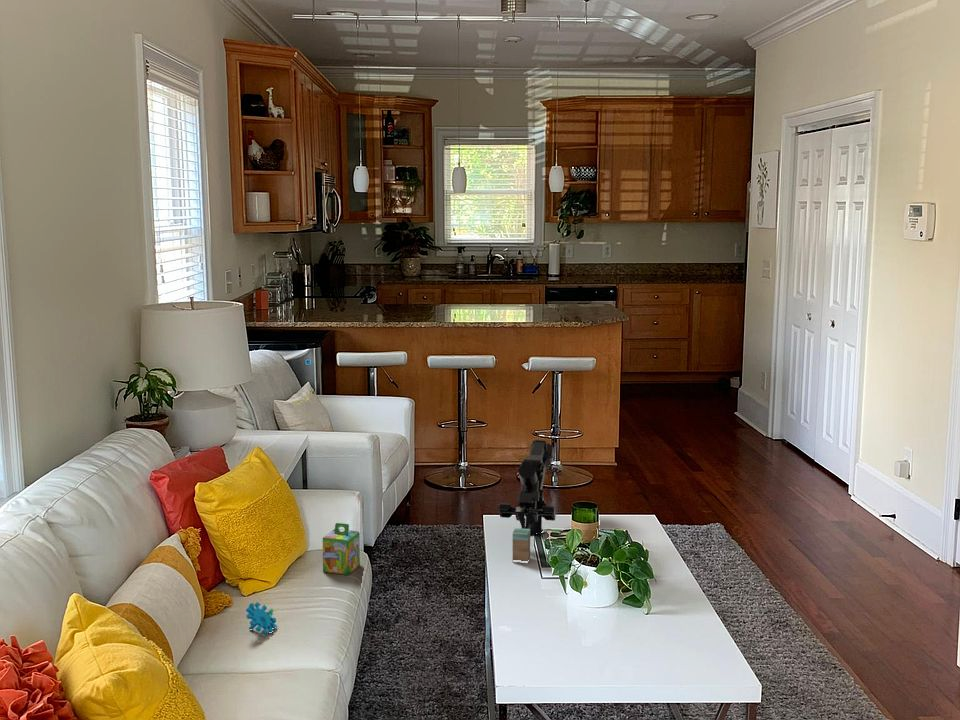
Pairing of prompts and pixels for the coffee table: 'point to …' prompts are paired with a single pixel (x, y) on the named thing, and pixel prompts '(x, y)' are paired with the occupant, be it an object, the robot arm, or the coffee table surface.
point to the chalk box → (341, 550)
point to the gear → (260, 618)
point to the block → (521, 544)
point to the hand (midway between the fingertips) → (524, 535)
